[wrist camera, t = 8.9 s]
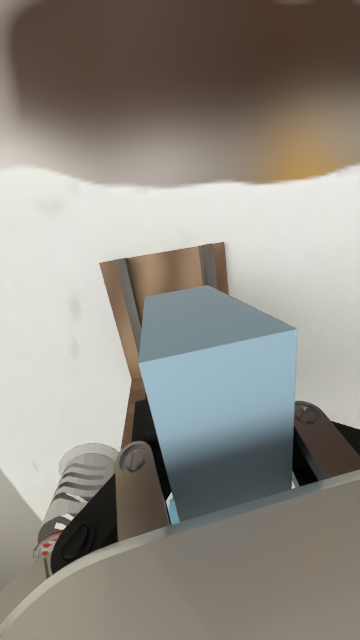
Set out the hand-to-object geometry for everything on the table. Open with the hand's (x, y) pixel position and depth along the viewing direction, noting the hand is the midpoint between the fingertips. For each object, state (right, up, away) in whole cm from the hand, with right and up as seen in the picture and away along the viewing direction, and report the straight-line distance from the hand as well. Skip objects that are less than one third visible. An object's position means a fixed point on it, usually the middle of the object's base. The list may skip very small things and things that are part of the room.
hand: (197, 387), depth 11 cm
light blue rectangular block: (0, +1, +3) cm, 3 cm away
